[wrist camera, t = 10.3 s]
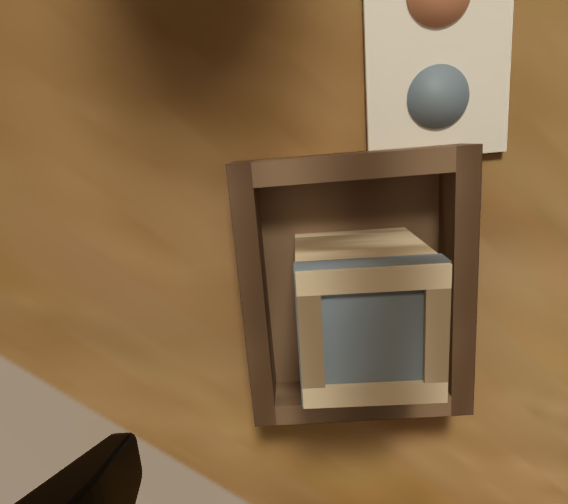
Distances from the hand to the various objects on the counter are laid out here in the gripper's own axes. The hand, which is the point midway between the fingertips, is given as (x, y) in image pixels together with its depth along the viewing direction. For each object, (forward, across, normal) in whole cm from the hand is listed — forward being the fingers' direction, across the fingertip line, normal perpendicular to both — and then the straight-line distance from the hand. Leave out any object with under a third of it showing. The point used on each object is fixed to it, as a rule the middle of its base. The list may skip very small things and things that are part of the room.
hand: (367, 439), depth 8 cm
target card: (+13, -5, -9) cm, 16 cm away
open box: (+13, -1, +1) cm, 13 cm away
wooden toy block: (+12, -1, +1) cm, 12 cm away
